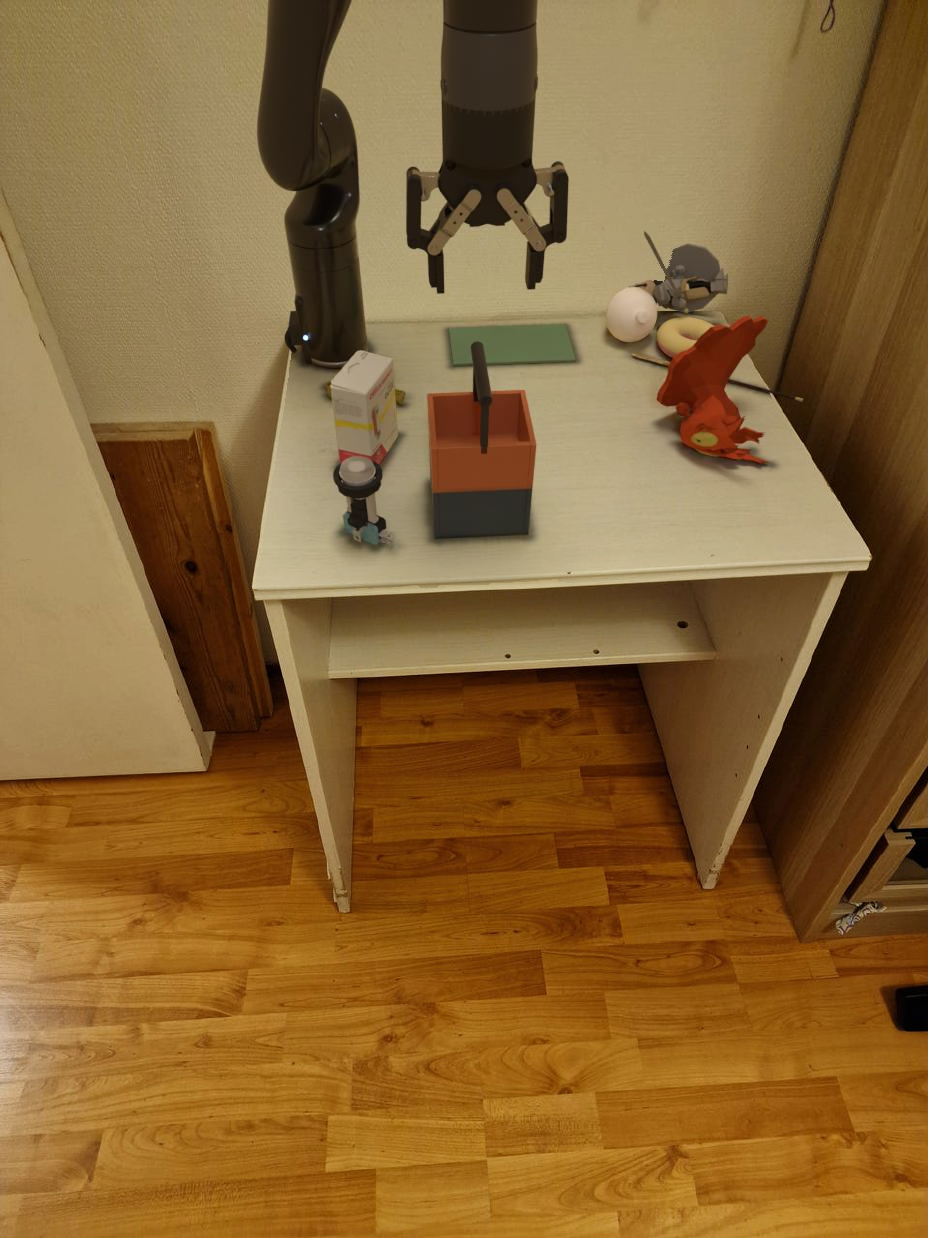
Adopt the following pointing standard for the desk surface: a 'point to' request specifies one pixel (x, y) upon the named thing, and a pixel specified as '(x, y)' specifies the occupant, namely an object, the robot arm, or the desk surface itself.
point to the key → (398, 393)
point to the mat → (513, 344)
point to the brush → (728, 380)
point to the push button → (362, 499)
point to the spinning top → (631, 314)
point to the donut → (680, 334)
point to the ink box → (365, 407)
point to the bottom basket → (480, 513)
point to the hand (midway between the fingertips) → (484, 287)
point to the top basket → (480, 436)
